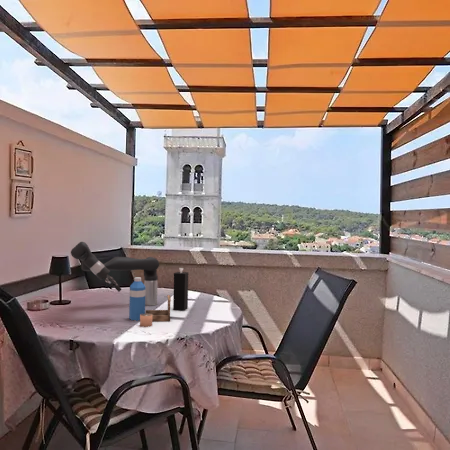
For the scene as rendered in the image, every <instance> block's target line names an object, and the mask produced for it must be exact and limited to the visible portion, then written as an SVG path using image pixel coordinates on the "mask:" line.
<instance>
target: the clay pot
mask: <svg viewBox="0 0 450 450" xmlns="http://www.w3.org/2000/svg"><path fill="white" fill-rule="evenodd" d="M142 326H144V328H149V327H152V326H153V322H152V314H148V313H146V312H145V314H140V320H139V327H142ZM148 326H149V327H148Z"/></svg>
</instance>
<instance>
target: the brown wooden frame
mask: <svg viewBox="0 0 450 450" xmlns="http://www.w3.org/2000/svg"><path fill="white" fill-rule="evenodd" d="M166 297H167V309H145V313H148V314H152V323H154V322H155V323H156V322H157V323H158V322H171V302H172V300H171V299H172V298H171V295H170V294H168V295H167V296H166Z"/></svg>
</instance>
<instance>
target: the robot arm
mask: <svg viewBox="0 0 450 450" xmlns="http://www.w3.org/2000/svg"><path fill="white" fill-rule="evenodd" d="M70 256H71V257H72V258H74V259H76V260H79V261H80V262H81V265H80V266H81V270H82V271H83V272H92V273H93V274H94V275H95V276H96V277H97V279H99V280H100V281H102V280H103V279H104V280H105V283H106V284H107V285H109V286H111V288H114V289H115V290H117V292H118V293H119V292H121V291H122V288H121V287H120V285H119V284H118V282H117V281H116V280H115V278H114V277H113V276H112V275H109V273H110V272H111V271H117V272H118V271H124V272H126V271H138V270H140V271H141V270H142V271H143V280H144V281H143V284H144V285H145V306H149V307H150V306H157V305H158V280H159V278H158V273H157V270H158V269H159V267H160V261H159V260H158V259H157V258H156V257H153V256H147V257H146V258H136V257H129V256H127V257H126V256H115V257H113V258H111V259H110V260H108V261H107V262H105V263H103V262H101V261H100V260H99V259H98V258H97V256H96V255H95V254H94V253H92V251H91V249H90V248H89V245H88V243H86V242H85V241H80V242H78V243H77V244H76V245H75V246H73V248H72V249H71V250H70Z"/></svg>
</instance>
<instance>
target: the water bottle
mask: <svg viewBox="0 0 450 450" xmlns="http://www.w3.org/2000/svg"><path fill="white" fill-rule="evenodd" d="M128 304H129V308H128V309H129V311H128V312H129V316H128V317H129V318H128V319H129V320H130V319H131V320H130V321H133V320H136V321H137V322H138V320H139V321H140V314H145V313H146V305H145V285H144V282H143V281H142V277H140V276H139V277H134V278H133V282H132V283H131V284H130V286H129V303H128Z"/></svg>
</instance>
